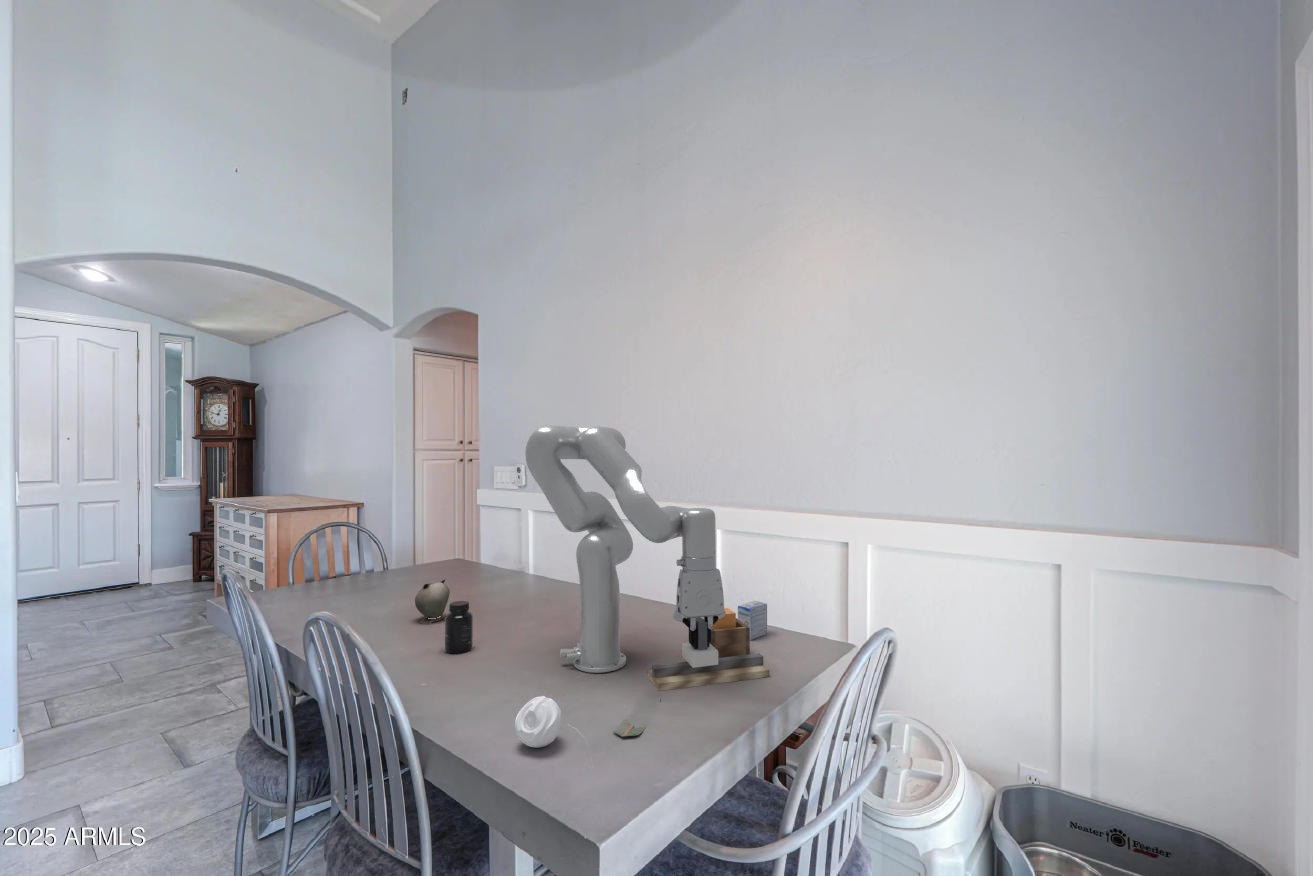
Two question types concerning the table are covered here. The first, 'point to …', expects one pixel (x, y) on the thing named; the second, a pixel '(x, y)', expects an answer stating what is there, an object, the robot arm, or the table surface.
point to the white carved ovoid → (538, 722)
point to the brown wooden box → (731, 640)
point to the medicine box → (754, 617)
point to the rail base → (708, 672)
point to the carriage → (700, 648)
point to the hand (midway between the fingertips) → (699, 645)
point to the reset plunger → (726, 620)
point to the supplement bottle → (458, 628)
